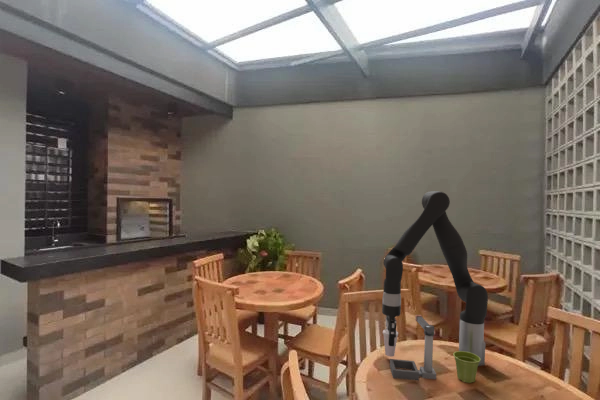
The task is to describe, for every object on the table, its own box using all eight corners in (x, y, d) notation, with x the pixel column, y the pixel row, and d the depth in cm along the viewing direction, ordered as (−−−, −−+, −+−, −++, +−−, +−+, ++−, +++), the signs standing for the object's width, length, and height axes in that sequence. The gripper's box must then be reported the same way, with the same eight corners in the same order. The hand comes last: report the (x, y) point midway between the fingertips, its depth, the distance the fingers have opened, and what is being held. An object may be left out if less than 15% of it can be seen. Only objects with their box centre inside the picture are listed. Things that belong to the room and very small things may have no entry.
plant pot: (453, 382, 129) (454, 359, 129) (451, 370, 138) (452, 349, 138) (481, 387, 126) (482, 364, 126) (477, 375, 135) (478, 353, 135)
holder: (431, 370, 138) (432, 330, 138) (437, 382, 129) (439, 340, 129) (389, 366, 140) (391, 327, 140) (392, 378, 131) (394, 336, 131)
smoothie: (398, 358, 143) (399, 325, 143) (382, 357, 144) (383, 323, 144) (397, 352, 149) (398, 319, 149) (381, 350, 150) (382, 318, 150)
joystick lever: (435, 336, 132) (435, 328, 132) (425, 335, 132) (426, 327, 132) (422, 321, 148) (422, 314, 148) (413, 320, 148) (413, 313, 148)
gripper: (403, 308, 139) (402, 350, 139) (398, 298, 153) (396, 336, 153) (384, 307, 140) (382, 348, 140) (380, 297, 154) (379, 335, 154)
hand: (390, 342), depth 147 cm, fingers closed on smoothie, 6 cm apart
